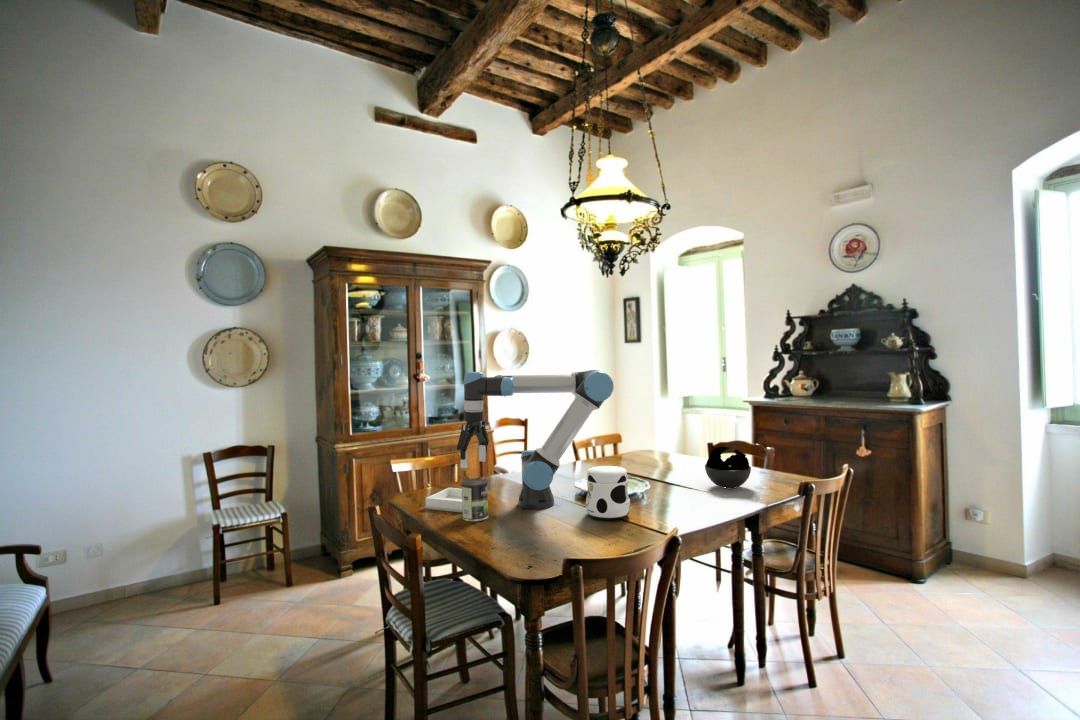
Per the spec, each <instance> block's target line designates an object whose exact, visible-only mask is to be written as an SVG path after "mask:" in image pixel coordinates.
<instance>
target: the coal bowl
mask: <svg viewBox="0 0 1080 720" xmlns="http://www.w3.org/2000/svg"><path fill="white" fill-rule="evenodd" d="M729 449H730V446H729V447H728V446H727V447H726V446H724V445H723V446H716V447H715V448H713V449H712V451H710V455H709V456H708V458H707V461H706V463H705V465H704V470H705V473H706V475H707V477H708V479H709V480H710V481H711V482H712V483H713V484H715V485H716V486H718V487H720V488H722V487H726V488H725V489H727V488H731V489H736V488H738V487H741V486H742V485H743V484H745V483H746V482H747V481H748V479H749V477H750V475H751V471H752V468H751V466H750V462H749V459H748V457H747V454H746V453H744V452H742V451H740V450H738V449H734V450H733V451H734V453H735V454H731V455H730V456H729V457H727V458H725V460H723V459H722V454H723V453H724V452H725V451H727V450H729ZM735 487H736V488H735Z"/></svg>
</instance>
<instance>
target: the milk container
mask: <svg viewBox="0 0 1080 720" xmlns="http://www.w3.org/2000/svg"><path fill="white" fill-rule="evenodd" d="M586 479H587V481H586V484H587V493H586V498H585V509H586V512H587V514H588V515H589V516H590V517H592V518H595V519H600V520H619V519H621V518H625V517H626V516H628V515H629V513H630V510H631V499H630V497H629V492H628V473H627V469H625V468H624V467H621V466H615V465H599V466H593V467H590V468H588V469H587V474H586Z"/></svg>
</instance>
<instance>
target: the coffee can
mask: <svg viewBox="0 0 1080 720" xmlns="http://www.w3.org/2000/svg"><path fill="white" fill-rule="evenodd" d="M488 482H489V481H488V480H485V479H482V478H481V479H480V478H476V479H475V478H474V479H466V480H462V481H461V483H460V484H461V489H462V511H463V513H462V520H464V521H466V522H480V521H485V520H487V519H488V518H489V501H488V500H489V499H488V496H489V495H488V494H489V493H488Z"/></svg>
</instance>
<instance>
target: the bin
mask: <svg viewBox="0 0 1080 720" xmlns="http://www.w3.org/2000/svg"><path fill="white" fill-rule="evenodd" d="M425 509H426V510H433V511H434V510H435V511H444V512H445V511H446V512H455V513H461V514H463V511H462V488H457V487H456V488H455V487H447V488H445V489H442V490H440V491H438V492H436V493H434V494H432V495H429V496H427V497H425Z"/></svg>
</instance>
